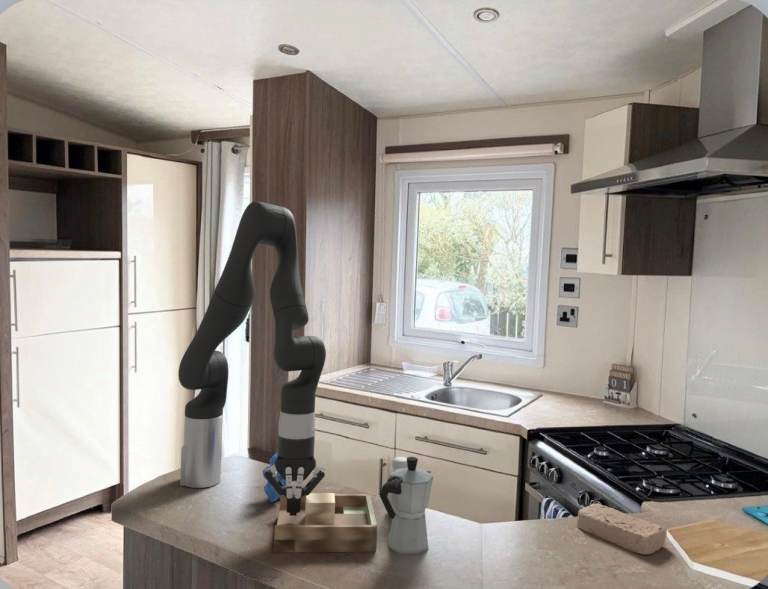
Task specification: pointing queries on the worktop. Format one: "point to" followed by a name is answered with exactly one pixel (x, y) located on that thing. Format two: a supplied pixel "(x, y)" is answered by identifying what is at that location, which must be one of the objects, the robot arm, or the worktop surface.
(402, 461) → the salt shaker
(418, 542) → the coffee maker
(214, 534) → the worktop surface
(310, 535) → the box
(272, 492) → the grapes
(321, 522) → the birch block
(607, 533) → the brick
